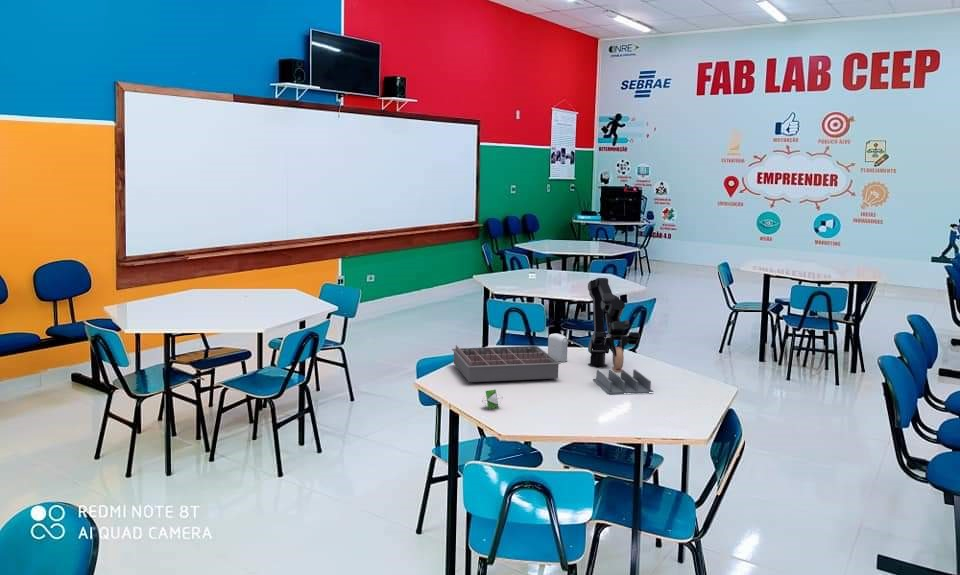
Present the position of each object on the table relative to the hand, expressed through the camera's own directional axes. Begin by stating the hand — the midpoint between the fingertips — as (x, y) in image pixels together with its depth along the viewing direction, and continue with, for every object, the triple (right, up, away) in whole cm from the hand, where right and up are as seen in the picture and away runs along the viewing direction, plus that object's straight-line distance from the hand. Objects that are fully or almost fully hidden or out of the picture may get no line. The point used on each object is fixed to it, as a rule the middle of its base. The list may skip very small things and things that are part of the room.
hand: (619, 355), depth 308 cm
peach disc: (0, -6, +2) cm, 7 cm away
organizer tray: (-46, -10, +20) cm, 51 cm away
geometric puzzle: (-52, -17, -27) cm, 61 cm away
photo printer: (-20, -6, +46) cm, 51 cm away
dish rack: (+2, -13, +4) cm, 14 cm away
